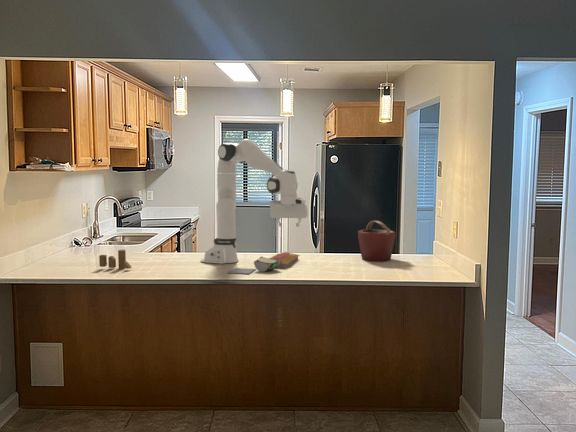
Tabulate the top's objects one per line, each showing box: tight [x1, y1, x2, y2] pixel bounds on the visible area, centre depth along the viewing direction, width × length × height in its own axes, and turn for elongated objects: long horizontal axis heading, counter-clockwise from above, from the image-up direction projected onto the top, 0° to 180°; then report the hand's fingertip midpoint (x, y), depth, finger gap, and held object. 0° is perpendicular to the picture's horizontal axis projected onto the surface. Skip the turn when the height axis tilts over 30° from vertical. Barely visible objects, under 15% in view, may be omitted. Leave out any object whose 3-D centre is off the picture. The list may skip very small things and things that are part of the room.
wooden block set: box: [98, 249, 132, 270], centre depth 304 cm, size 18×9×10 cm, turn 84°
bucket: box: [357, 220, 396, 263], centre depth 339 cm, size 24×22×25 cm
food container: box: [253, 255, 280, 273], centre depth 304 cm, size 12×6×10 cm
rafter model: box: [269, 251, 300, 269], centre depth 327 cm, size 35×14×6 cm, turn 167°
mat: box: [227, 267, 257, 276], centre depth 300 cm, size 12×14×1 cm
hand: (289, 226), depth 293 cm, fingers open, 8 cm apart
